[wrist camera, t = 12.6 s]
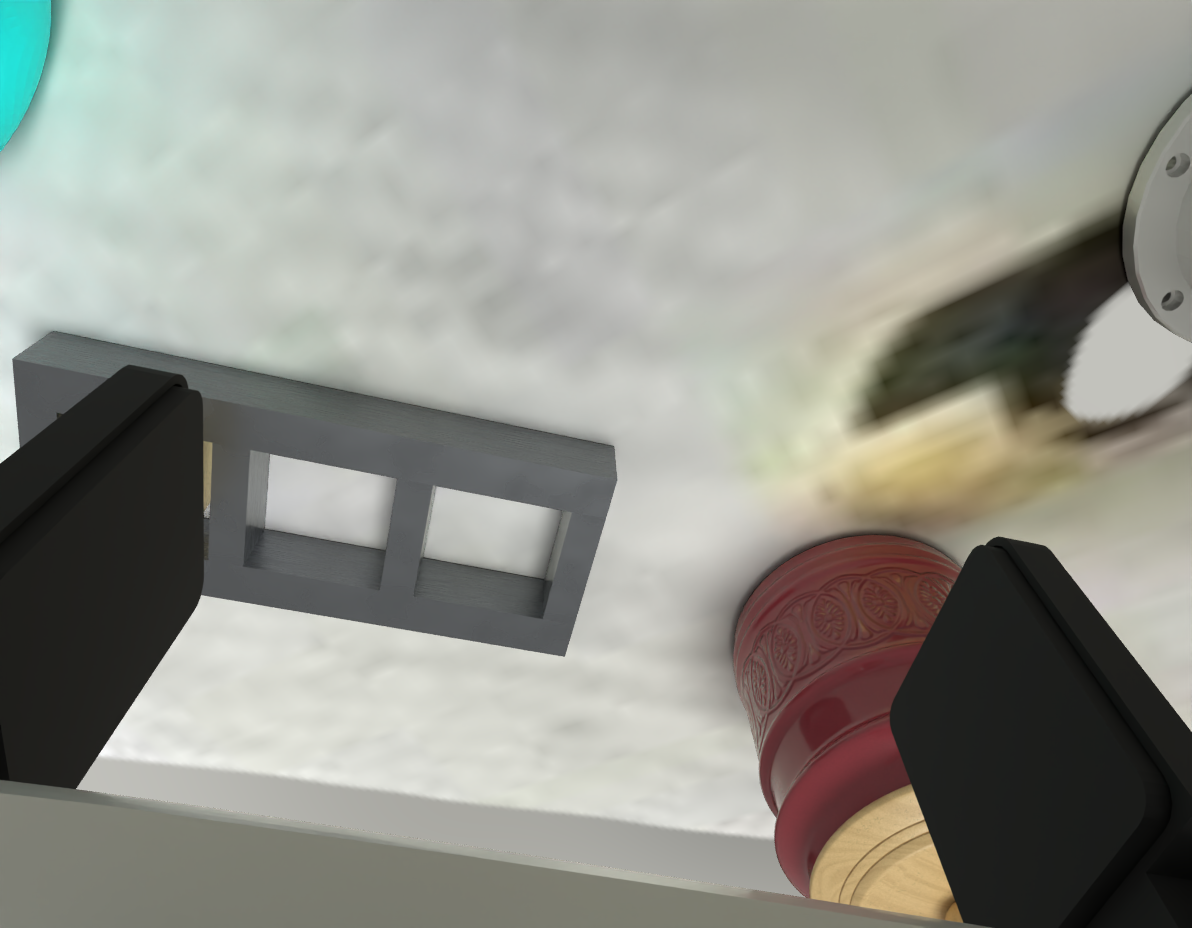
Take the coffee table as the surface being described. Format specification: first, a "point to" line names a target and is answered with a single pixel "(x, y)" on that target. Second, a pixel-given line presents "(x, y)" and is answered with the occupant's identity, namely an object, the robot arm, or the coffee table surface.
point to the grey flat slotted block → (373, 445)
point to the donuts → (21, 58)
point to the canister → (844, 718)
